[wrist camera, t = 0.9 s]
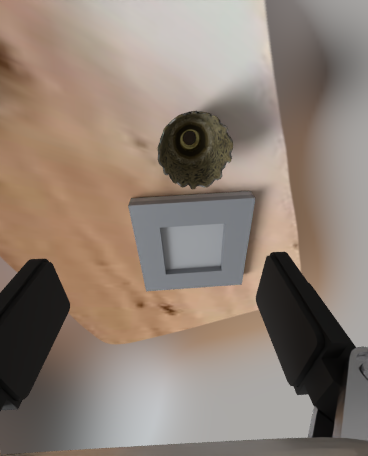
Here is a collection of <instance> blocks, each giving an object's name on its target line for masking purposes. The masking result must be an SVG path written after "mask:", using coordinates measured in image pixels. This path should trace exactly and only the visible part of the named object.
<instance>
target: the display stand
mask: <svg viewBox="0 0 368 456" xmlns="http://www.w3.org/2000/svg"><path fill="white" fill-rule="evenodd" d="M254 204H255V197H254V195H253V194H252V193H251V191H242V192H226V193H209V194H193V195H177V196H160V197H144V198H131V200H130V202H129V205H128V207H129V211H130V216H131V221H132V226H133V230H134V235H135V240H136V245H137V249H138V254H139V259H140V264H141V268H142V273H143V278H144V283H145V287H146V291H156V290H170V289H184V288H199V287H213V286H227V285H241V284H242V279H243V273H244V266H245V260H246V254H247V248H248V241H249V235H250V229H251V223H252V216H253V210H254Z"/></svg>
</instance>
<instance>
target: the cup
mask: <svg viewBox="0 0 368 456" xmlns="http://www.w3.org/2000/svg"><path fill="white" fill-rule="evenodd" d="M188 131H191V132H193V133H194V134H195V136H196V140H195V142H194V143H193V144H191V145H187V144H186V143H185V142H184V140H183V136H184V134H185V133H186V132H188ZM227 131H228V128H227V127H226V126H225V125H223V124H222V123H220V120H219V119H218V118H217V117H216V116H214V115H211V114H209V113H206V112H201V111H200V112H198V111H191V112H187V113H184V114H181V115H179V116H177V117H176V118H174V119H173V120H172V121H171V122H170V123H169V124H168V125H167V126H166V127H165V128H164V130H163V134H162V136H161V138H160V143H159V145H158V162H159V164H160V165H161V166H162V167H163V172H164V174H165V175H168V174H169V177H170V178H171V180H172V181H173V183H178V185H180V186H181V187H185V186H187V185H189V186H190V187H191V189H195V188H196V187H197V186H201V187H209V186H210V185H211V184H212V183H213V182H214V181H215V180H219V179H221V177H222V170H223V169H224V168H225V165H226V163H227V162H228V163H230V162H231V159H232V156H231V152H232V149H233V142H232V139H231V137H230V136H229V134H228V132H227Z"/></svg>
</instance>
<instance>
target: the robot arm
mask: <svg viewBox="0 0 368 456" xmlns="http://www.w3.org/2000/svg"><path fill="white" fill-rule="evenodd" d="M256 302H257V306H258V308H259V311H260V313H261V316H262V318H263V321H264V323H265V326H266V328H267V331H268V333H269V336H270V338H271V341H272V343H273V346H274V349H275V351H276V353H277V356H278V359H279V361H280V364H281V366H282V369H283V371H284V374H285V376H286V379H287V381H288V383H289V384H290V385H291V386H294V388H295V391H296V393H297V395H304V394H309V396H310V399H311V401H312V403H313V405H314V409H313V414H312V419H311V424H310V429H309V434H308V438H287V439H262V440H243V441H225V442H204V443H185V444H168V445H153V446H152V445H151V446H134V447H118V448H101V449H100V448H99V449H84V450H68V451H51V452H35V453H19V454H4V455H1V452H0V456H368V347H357V348H356V347H355V345H354V344H353V343H352V341H351V340H350V338H349V337H348V336H347V334H346V333H345V331H344V330H343V329H342V327H341V326H340V324H339V323H338V322H337V320H336V319H335V318H334V316H333V315H332V313H331V312H330V310H329V309H328V308H327V306H326V305H325V304H324V302H323V301H322V299H321V298H320V297H319V295H318V294H317V292H316V291H315V290H314V288H313V287H312V286H311V285H310V283H308V282H307V280H306V279H305V277H304V276H303V275H302V273H301V272H300V270H299V269H298V268H297V266H296V265H295V263H294V262H293V261H292V259H291V258H290V256H289V255H288V254H287V253H286V252H272V253H271V254H270V256H267V257H266V261H265V264H264V268H263V272H262V276H261V279H260V283H259V287H258V291H257V295H256ZM69 309H70V302H69V300H68V298H67V295H66V293H65V291H64V289H63V286H62V284H61V282H60V280H59V277H58V275H57V273H56V271H55V268H54V266H53V264H52V263H51V262H49V261H48V260H47V259H31V260H29V261H28V262H27V263H26V264H25V265H24V266H23V267H22V268H21V270H20V271H19V272H18V273H17V274H16V275H15V277H14V278H13V279H12V280H11V281H10V282H9V283H8V285H7V286H6V287H5V288H4V289H3V290H2V291H1V293H0V411H1V410H12V409H13V410H14V409H18V408H19V406H20V404H21V402H22V400H23V399H25V398H26V397H27V396H28V395H29V393H30V391H31V389H32V387H33V385H34V382H35V381H36V379H37V377H38V374H39V372H40V370H41V368H42V366H43V364H44V362H45V360H46V358H47V356H48V354H49V352H50V350H51V347H52V345H53V343H54V341H55V339H56V337H57V335H58V333H59V331H60V329H61V327H62V325H63V322H64V320H65V318H66V316H67V314H68V312H69Z"/></svg>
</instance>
